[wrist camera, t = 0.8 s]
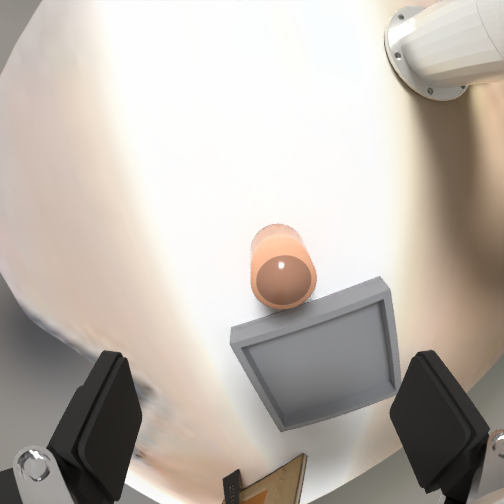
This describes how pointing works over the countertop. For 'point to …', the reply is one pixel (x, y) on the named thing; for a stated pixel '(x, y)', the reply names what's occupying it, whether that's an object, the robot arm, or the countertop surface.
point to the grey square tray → (323, 355)
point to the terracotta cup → (281, 268)
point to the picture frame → (269, 486)
